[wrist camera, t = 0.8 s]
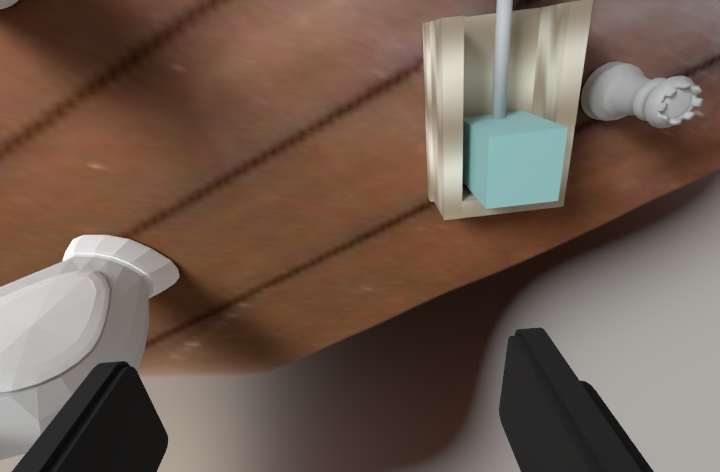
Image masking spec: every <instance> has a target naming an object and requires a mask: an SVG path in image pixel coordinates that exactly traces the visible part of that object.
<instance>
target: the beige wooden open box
mask: <svg viewBox="0 0 720 472" xmlns="http://www.w3.org/2000/svg"><path fill="white" fill-rule="evenodd" d="M592 6H593V0H580V1H572V2H566V3H561V4H556V5H551V6H546V7H540V8H532V9H525V10H517V11H512V22H511V38H510V54H509V71H508V87H507V103H506V112H513V111H521V110H523V111H526V112H528V113H531V114H534V115H536V116H539V117H542V118H544V119H547V120H550V121H552V122H555V123H557V124H560V125H563V126H565V127H568V132H567V140H566V147H565V154H564V162H563V169H562V176H561V184H560V191H559V198H558V201H552V202H543V203H535V204H526V205H517V206H509V207H500V208H491V209H485V208H484V206H483V205H482V204H481V203H480V202H479V200H478V199H477V198H476V197H475V196H474V194H473V193H472V192H471V191H470V190H469V188H468V187H467V186H466V185H465V184H464V182H463V181H462V173H463V117H471V116H480V115H488V114H492V99H493V77H494V54H495V32H496V13H493V14H486V15H478V16H470V17H464V15H463V16H455V17H448V18H441V19H437V20H434V21H430V22H425V23H423V53H424V83H425V114H426V144H427V175H428V198H429V199H430V201H431V202H435V204H436V206H437V208H438V209H439V211H440V213H441V215H442V217H443V219H444V220H450V219H459V218H468V217H476V216H485V215H494V214H502V213H511V212H520V211H529V210H537V209H546V208H555V207H563V206H564V199H565V193H566V186H567V179H568V172H569V165H570V158H571V151H572V144H573V137H574V130H575V123H576V116H577V109H578V103H579V96H580V89H581V82H582V75H583V68H584V61H585V54H586V47H587V40H588V33H589V26H590V19H591V13H592Z"/></svg>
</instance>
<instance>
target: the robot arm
mask: <svg viewBox="0 0 720 472" xmlns="http://www.w3.org/2000/svg"><path fill="white" fill-rule="evenodd" d="M499 414H500V419H501V423H502V426H503V428H504V431H505V433H506V436H507V438H508V441H509V443H510V445H511V448H512V450H513V452H514V455H515V458H516V460H517V463H518V465H519V467H520V470H521V472H653V470H652V469H651V467H650V466H649V465H648V463H647V462H646V461H645V459H644V458H643V456H642V455H641V453H640V452H639V451H638V449H637V448H636V446H635V445H634V444H633V442H632V441H631V440H630V438H629V437H628V435H627V434H626V432H625V431H624V430H623V428H622V427H621V425H620V424H619V423H618V421H617V420H616V419H615V417H614V416H613V414H612V413H611V411H610V410H609V409H608V407H607V406H606V404H605V403H604V402H603V400H602V399H601V397H600V396H599V395H598V393H597V392H596V391H595V390H594V388H593V387H592V386H591V385H590V384H588V383H587V382H585V381H579V379H578V378H577V376H576V375H575V374H574V372H573V371H572V369H571V368H570V366H569V365H568V363H567V362H566V361H565V359H564V358H563V356H562V355H561V353H560V352H559V350H558V349H557V347H556V346H555V345H554V343H553V342H552V340H551V339H550V337H549V336H548V334H547V333H546V332H545V330H544V329H542V328H530V329H519V330H517V331H516V332H515V336H510V337H509V339H508V346H507V353H506V361H505V369H504V376H503V383H502V392H501V398H500V407H499ZM167 445H168V436H167V433H166V431H165V429H164V427H163V424H162V422H161V420H160V418H159V416H158V414H157V413H156V410H155V408H154V406H153V404H152V402H151V400H150V398H149V396H148V394H147V392H146V389H145V387H144V385H143V383H142V381H141V379H140V377H139V375H138V373H137V371H136V369H135V368H134V367H130V365H129V364H128V363H127V362H126V361H118V362H106V363H99V364H97V365H96V366H95V367H94V368H93V369H92V370H91V372H90V373H89V374H88V375H87V377H86V378H85V379H84V381H83V382H82V383H81V384H80V386H79V387H78V388H77V389H76V391H75V392H74V393H73V395H72V396H71V397H70V398H69V400H68V401H67V402H66V403H65V405H64V406H63V407H62V409H61V410H60V411H59V412H58V414H57V415H56V416H55V417H54V419H53V420H52V421H51V423H50V424H49V425H48V426H47V428H46V429H45V430H44V431H43V433H42V434H41V435H40V437H39V438H38V439H37V440H36V442H35V443H34V444H33V445H32V447H31V448H30V449H29V451H28V452H27V453H26V454H25V456H24V457H23V458H22V459H21V461H20V462H19V463H18V465H17V466H16V467H15V468H14V470H13V471H12V472H157V469H158V467H159V465H160V463H161V460H162V458H163V456H164V454H165V452H166V449H167Z"/></svg>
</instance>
